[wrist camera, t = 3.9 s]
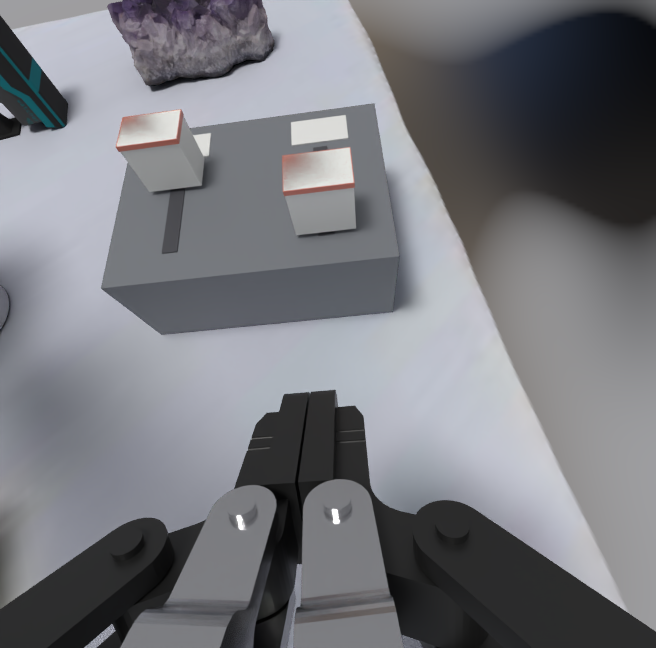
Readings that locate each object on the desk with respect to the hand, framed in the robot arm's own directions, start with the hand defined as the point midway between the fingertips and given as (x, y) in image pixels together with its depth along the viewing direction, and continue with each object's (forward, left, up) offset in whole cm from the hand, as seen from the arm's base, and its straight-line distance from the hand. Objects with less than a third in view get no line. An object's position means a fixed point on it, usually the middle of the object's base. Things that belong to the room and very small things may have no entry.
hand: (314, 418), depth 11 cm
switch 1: (-24, +10, -12) cm, 28 cm away
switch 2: (-11, +13, -12) cm, 21 cm away
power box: (-18, +12, -21) cm, 30 cm away
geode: (-48, +32, -21) cm, 61 cm away
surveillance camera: (-60, +10, -21) cm, 64 cm away
